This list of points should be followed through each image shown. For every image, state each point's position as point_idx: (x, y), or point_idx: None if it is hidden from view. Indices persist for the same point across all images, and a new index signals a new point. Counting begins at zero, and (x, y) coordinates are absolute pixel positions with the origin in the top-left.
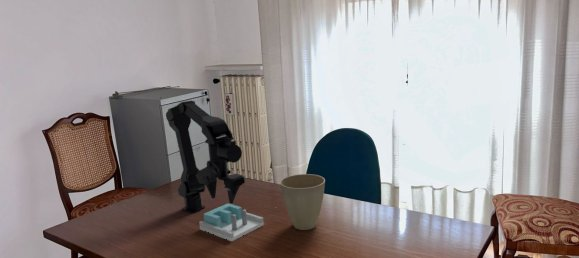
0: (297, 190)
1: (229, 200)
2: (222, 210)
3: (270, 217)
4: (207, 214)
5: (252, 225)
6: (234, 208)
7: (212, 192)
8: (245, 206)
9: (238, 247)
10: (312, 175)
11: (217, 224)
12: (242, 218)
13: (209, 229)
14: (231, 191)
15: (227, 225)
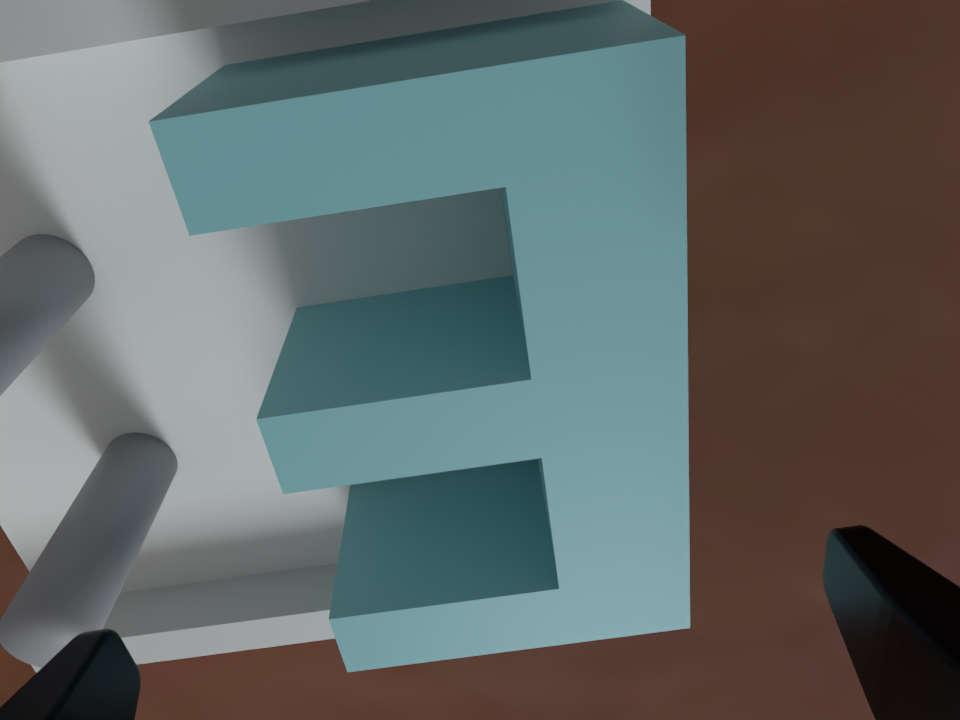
0: None
1: (26, 709)
2: (483, 426)
3: (235, 713)
4: (559, 86)
5: (33, 501)
6: (425, 594)
7: (931, 698)
8: (711, 698)
9: None
10: None
11: (199, 87)
12: (91, 502)
13: None
14: None
15: (273, 273)
